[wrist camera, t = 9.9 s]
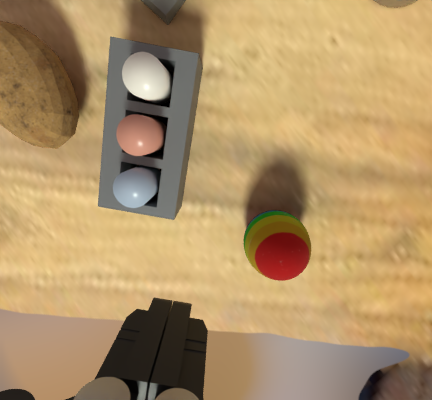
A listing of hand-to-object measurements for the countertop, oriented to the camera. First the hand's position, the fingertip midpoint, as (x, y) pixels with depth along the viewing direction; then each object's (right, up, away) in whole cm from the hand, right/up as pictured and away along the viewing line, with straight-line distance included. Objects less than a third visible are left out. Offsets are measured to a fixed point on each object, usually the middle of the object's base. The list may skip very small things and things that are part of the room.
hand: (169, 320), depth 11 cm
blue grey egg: (-7, +7, +23) cm, 26 cm away
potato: (-19, +18, +24) cm, 36 cm away
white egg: (-5, +18, +21) cm, 28 cm away
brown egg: (-6, +12, +22) cm, 26 cm away
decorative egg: (+10, 0, +28) cm, 29 cm away
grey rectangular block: (-6, +13, +25) cm, 29 cm away
